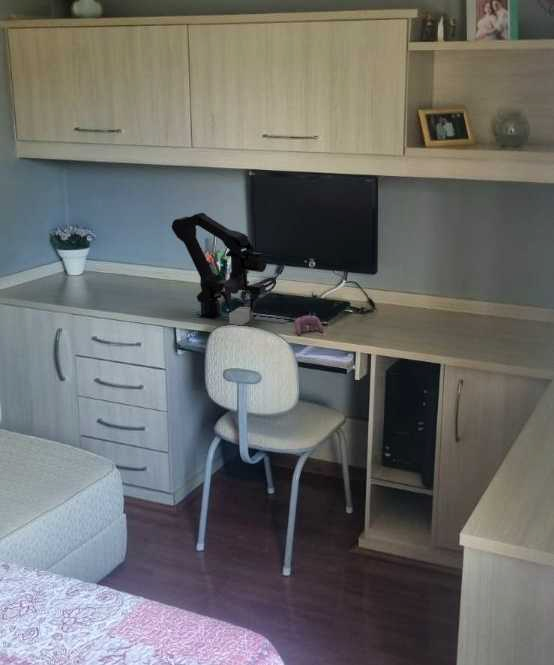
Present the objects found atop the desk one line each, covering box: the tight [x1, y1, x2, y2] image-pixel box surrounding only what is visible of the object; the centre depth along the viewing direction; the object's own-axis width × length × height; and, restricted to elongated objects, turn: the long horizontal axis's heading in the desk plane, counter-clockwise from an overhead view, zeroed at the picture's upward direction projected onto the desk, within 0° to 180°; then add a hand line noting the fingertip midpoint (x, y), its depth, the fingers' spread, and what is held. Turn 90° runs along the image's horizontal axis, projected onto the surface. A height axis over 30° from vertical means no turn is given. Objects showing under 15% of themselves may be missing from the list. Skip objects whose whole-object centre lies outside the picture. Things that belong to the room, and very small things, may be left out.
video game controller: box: [293, 315, 324, 336], centre depth 312 cm, size 10×5×7 cm, turn 108°
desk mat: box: [252, 315, 290, 325], centre depth 329 cm, size 13×11×1 cm
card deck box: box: [228, 306, 254, 326], centre depth 326 cm, size 5×9×4 cm, turn 156°
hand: (240, 309), depth 325 cm, fingers open, 9 cm apart
